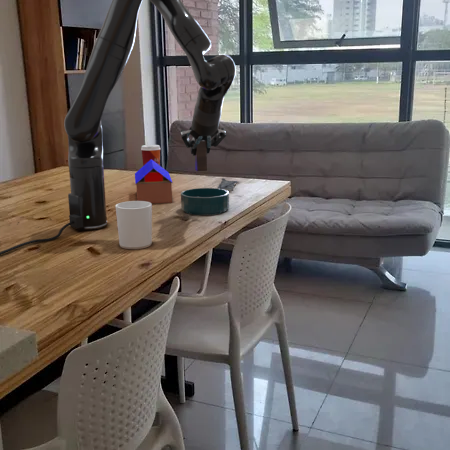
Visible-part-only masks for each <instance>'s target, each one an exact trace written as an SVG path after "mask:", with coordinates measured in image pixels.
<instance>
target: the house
mask: <svg viewBox="0 0 450 450" xmlns="http://www.w3.org/2000/svg"><path fill="white" fill-rule="evenodd" d="M134 184H135V187H136V188H135V189H136V201H146V202H150V203H152V204H167V203H173V185H172V184H173V180H172V178H171V175H170V172H169V171H167V170H166V169H165V168H164V167H162V166H161V164H160V165H158V164H157V163H156V162H154V161H153V160H152V159H151V160H150V161H148V162H147V163H146V164H145V165H144V166H143V165H142V167H140V168H139V169H138V170H137V171H136V172H135V173H134Z"/></svg>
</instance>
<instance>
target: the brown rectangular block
mask: <svg viewBox="0 0 450 450" xmlns="http://www.w3.org/2000/svg"><path fill="white" fill-rule="evenodd" d="M196 148H197V149H196V154H195V156H194V165H195V166H194V167H195V171H196V172H207V171H208V153H207V144H206V141H204V140H203V141H200V143H199V145H197V147H196Z"/></svg>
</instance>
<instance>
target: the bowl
mask: <svg viewBox="0 0 450 450" xmlns="http://www.w3.org/2000/svg"><path fill="white" fill-rule="evenodd" d="M217 188H218V187H217ZM217 188H216V187H198V188H190V189H189V188H188V189H186V190H183V191H181V192H180V209H181V210H182V211H183V212H184V213H185V214H189V215H193V216H212V215H219V214H223V213H225V212H226V211H228V210H229V208H230V192H229V190H223V189H217Z"/></svg>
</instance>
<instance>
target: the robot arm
mask: <svg viewBox="0 0 450 450" xmlns="http://www.w3.org/2000/svg"><path fill="white" fill-rule="evenodd" d="M149 1H150V2H151V3H152V4H153V6H155V8H156V9H157V11H158V12H159V13H160V15H161V16H162V18H163V20H164V21H165V23H166V26H167V27H168V29H169V31H170V33H171V34H172V36H173V38H174V40H175V41H176V42H177V44H178V46H180V48H181V49H182V51H183V52H184V53H185V55H186V57H187V60H188V62H189V65H190V67H191V70H192V73H193V75H194V79H195V80H196V82H197V84H198V85H199V89H198V92H197V97H196V102H195V105H194V108H193V115H192V119H191V126H190V127H189V128H188V130H185V129H181V130H180V137H181V140H182V141H183V143H184V145H185V147H186V148H187V149H189V150H190V154H191V155H192V157H193V156H194V157H195V154H196V149H197V148H196V147H197V145H199V143H200V141H203V140H204V141H206V144H207V154H210V152H211V148H212V147H217V146H219V145H220V143H221V142H222V141H224V139H225V138H226V137H227V133H226V128H224V127H221V128H219V124H220V122H221V118H222V111H223V110H222V109H223V104H224V99H225V96H226V95H227V93H228V91H229V90H230V88H231V87H232V85H233V82H234V80H235V78H236V72H237V71H236V64H235V61H234V60H233V58H232V57H231V56H230V55H228V54H219V55H216V56H214V57H211V58H210V59H208V60H206V58H205V57H204V56H205V55H206V54H207V53H208V52H209V50H210V49H211V47H212V43H211V42H212V41H211V40H210V39H209V37H208V35H207V34H206V32H205V31H204V30H203V29H202V27H201V25H200V24H199V23H198V21H197V20H196V18H195V17H194V15H192V13H191V12H190V11H189V9H188V8H187V6H185V5H184V3H183V1H182V0H149ZM142 3H143V0H111V4H110V6H109V8H108V10H107V13H106V15H105V18H104V20H103V23H102V26H101V28H100V30H99V32H98V35H97V38H96V39H95V42H94V45H93V47H92V50H91V54H90V56H89V59H88V62H87V65H86V70H85V73H84V77H83V80H82V83H81V85H80V89H79V91H78V93H77V95H76V97H75V99H74V101H73V102H72V105H71V107H70V108H69V110H68V111H67V113H66V115H65V117H64V120H63V121H64V122H63V125H64V130H65V133H66V135H67V141H68V155H67V156H68V157H67V161H68V173H69V184H70V187H69V188H70V192H69V193H68V194H67V197H68V210H69V211H68V212H69V215H68V219H69V222H68V223H66V224H64V225H63V226H62V227H61V228H60V229H59V231H58V233H57V234H56V235H54V236H52V237H48V238H40V239H32V240H29V241H24V242H21V243H20V244H17V245H14V246H11V247H9V248H6V249H4V250H2V251H0V256H2V255H4V254H6V253H9V252H11V251H14V250H16V249H19V248H22V247H24V246H27V245H30V244H35V243H44V242H51V241H54V240H57V239H58V238H60V237H61V235H62V233H63V231H64V230H65V229H66V228H68V227H70V228H73V229H75V230H78V231H81V232H83V231H94V230H99V229H103V228H107V226H108V216H107V203H106V188H105V169H104V145H103V143H104V142H103V125H102V118H103V114H104V111H105V108H106V105H107V101H108V99H109V97H110V95H111V93H112V92H113V89H114V88H115V87H116V85H117V83H118V81H119V80H120V78H121V76H122V74H123V72H124V70H125V68H126V66H127V63H128V61H129V59H130V56H131V53H132V51H133V49H134V45H135V40H136V33H137V26H138V25H137V24H138V16H139V11H140V8H141V5H142ZM190 136H191V137H192V138H191V139H190V138H189V137H190Z"/></svg>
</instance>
